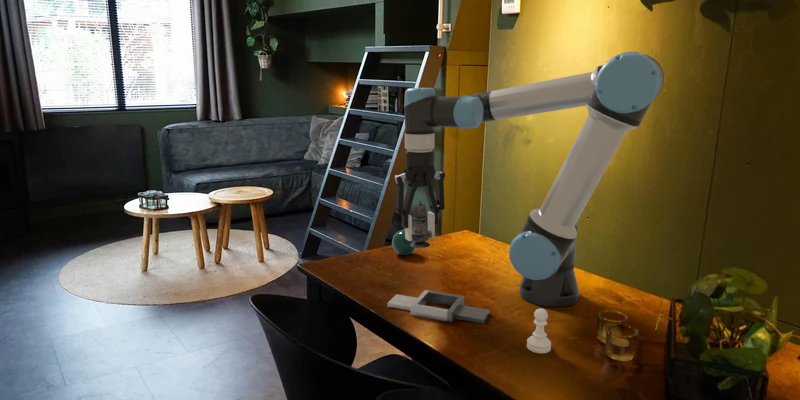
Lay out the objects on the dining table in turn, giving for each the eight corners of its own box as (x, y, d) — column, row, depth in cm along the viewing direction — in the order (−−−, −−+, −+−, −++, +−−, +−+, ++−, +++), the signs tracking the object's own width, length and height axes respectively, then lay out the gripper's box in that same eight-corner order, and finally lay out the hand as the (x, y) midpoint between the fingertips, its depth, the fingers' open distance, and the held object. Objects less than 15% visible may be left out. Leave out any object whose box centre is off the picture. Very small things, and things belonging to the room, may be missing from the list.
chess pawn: (522, 343, 123) (525, 305, 121) (543, 341, 125) (546, 303, 123) (533, 355, 119) (535, 315, 117) (555, 352, 120) (558, 313, 118)
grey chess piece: (429, 248, 146) (429, 203, 143) (406, 247, 147) (406, 202, 144) (432, 242, 151) (432, 198, 149) (410, 241, 153) (410, 197, 150)
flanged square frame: (491, 309, 140) (491, 300, 140) (481, 327, 131) (481, 317, 130) (399, 294, 149) (399, 285, 149) (383, 310, 140) (383, 300, 139)
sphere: (414, 259, 176) (414, 235, 174) (389, 257, 178) (389, 233, 176) (419, 251, 184) (419, 227, 182) (395, 249, 186) (395, 226, 184)
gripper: (445, 146, 151) (445, 230, 156) (379, 150, 143) (381, 238, 149) (459, 149, 144) (458, 237, 149) (390, 154, 137) (392, 246, 142)
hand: (419, 237), depth 149 cm, fingers closed on grey chess piece, 6 cm apart
